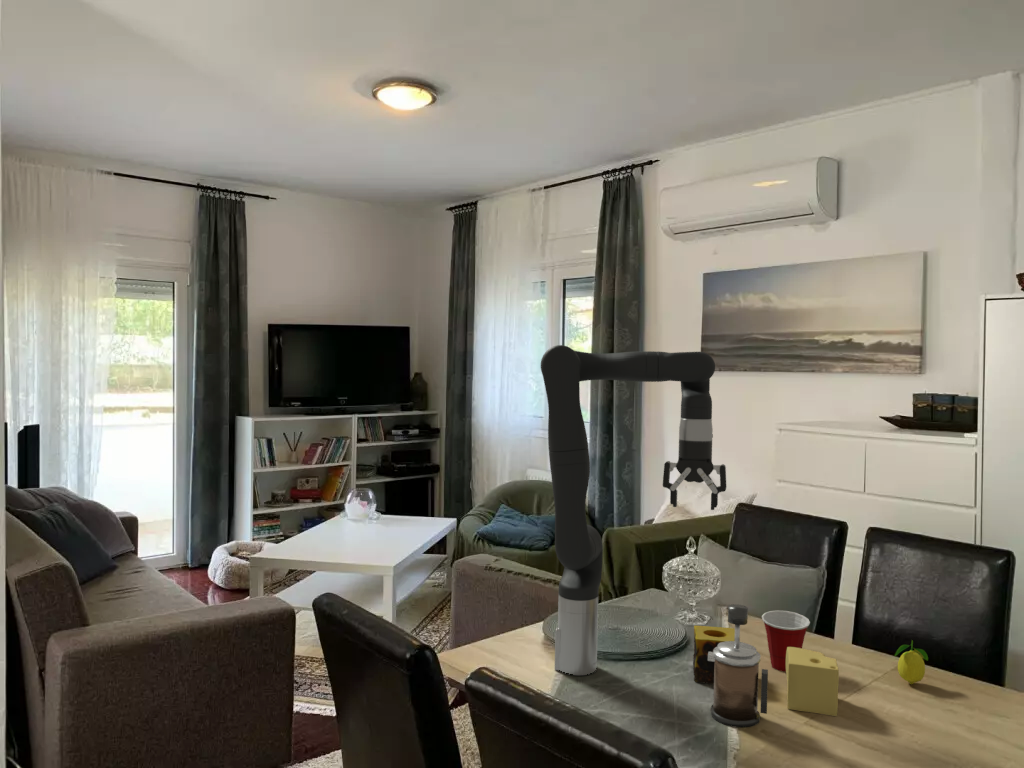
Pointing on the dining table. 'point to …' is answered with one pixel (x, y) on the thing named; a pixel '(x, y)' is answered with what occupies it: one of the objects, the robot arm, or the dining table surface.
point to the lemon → (911, 664)
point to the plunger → (737, 634)
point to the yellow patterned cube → (708, 650)
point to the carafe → (737, 689)
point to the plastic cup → (783, 634)
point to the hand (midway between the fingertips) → (693, 507)
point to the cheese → (811, 681)
